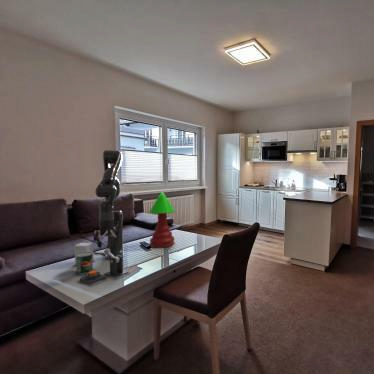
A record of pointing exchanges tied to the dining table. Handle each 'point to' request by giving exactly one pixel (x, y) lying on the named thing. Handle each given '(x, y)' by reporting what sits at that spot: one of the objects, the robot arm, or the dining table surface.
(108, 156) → the robot arm
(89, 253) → the canned tomato
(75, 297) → the dining table surface
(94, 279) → the power block
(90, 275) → the power button
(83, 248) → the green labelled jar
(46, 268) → the dining table surface
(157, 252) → the dining table surface
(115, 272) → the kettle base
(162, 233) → the table lamp
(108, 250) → the switch
